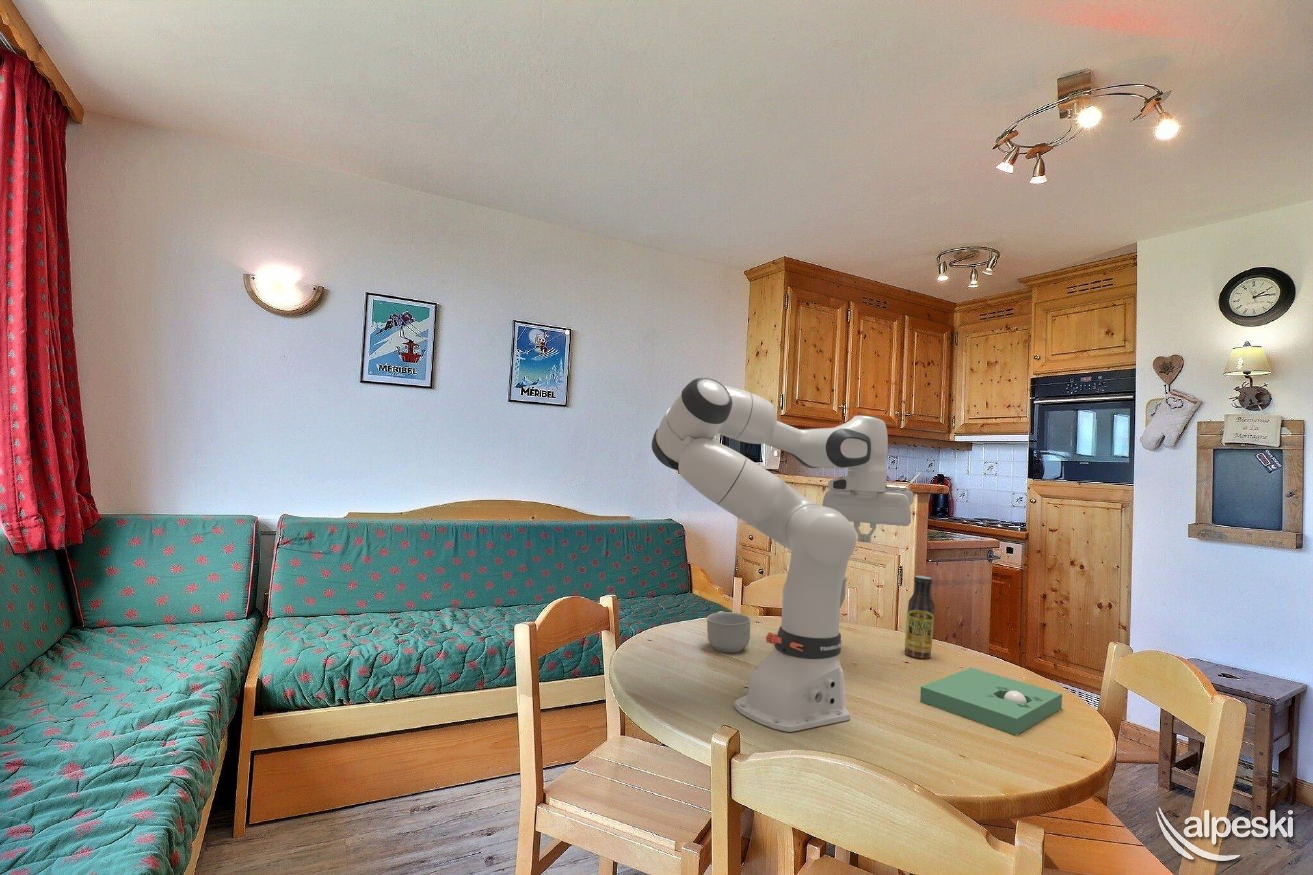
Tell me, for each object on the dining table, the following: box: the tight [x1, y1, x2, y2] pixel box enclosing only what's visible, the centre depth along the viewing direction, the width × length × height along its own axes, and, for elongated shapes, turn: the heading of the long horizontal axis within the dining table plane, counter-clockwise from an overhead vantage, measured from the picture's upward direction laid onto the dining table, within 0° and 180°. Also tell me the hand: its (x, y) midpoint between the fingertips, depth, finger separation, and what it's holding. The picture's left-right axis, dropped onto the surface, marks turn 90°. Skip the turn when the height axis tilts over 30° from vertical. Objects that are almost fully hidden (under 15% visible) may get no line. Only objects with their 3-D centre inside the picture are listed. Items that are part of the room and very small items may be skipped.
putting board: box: [919, 667, 1063, 736], centre depth 125 cm, size 22×18×3 cm
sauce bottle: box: [904, 575, 935, 660], centre depth 156 cm, size 6×6×20 cm
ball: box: [1004, 691, 1027, 704], centre depth 121 cm, size 4×4×4 cm
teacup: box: [706, 610, 751, 653], centre depth 155 cm, size 14×11×8 cm
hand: (864, 541), depth 147 cm, fingers closed
